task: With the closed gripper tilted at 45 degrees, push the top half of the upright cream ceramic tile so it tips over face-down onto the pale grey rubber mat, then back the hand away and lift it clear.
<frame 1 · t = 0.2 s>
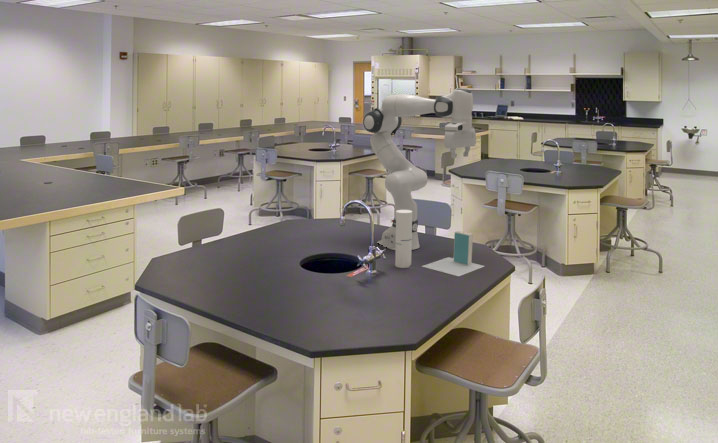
hand: (459, 157, 253), 48 cm above the counter, tool pointing down, fingers open, 8 cm apart
cylindrical container: (403, 266, 254), on the counter
tile: (462, 262, 255), point 1 cm above the counter, touching mat
mat: (453, 267, 250), on the counter
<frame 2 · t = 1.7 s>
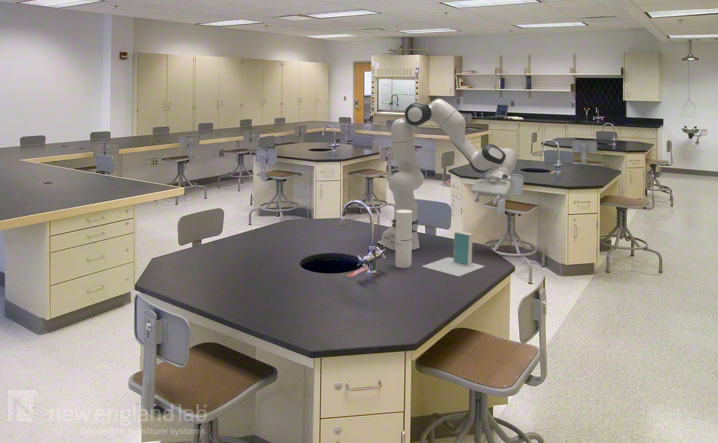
hand: (484, 202, 260), 26 cm above the counter, tool tilted 45°, fingers open, 8 cm apart
nothing on the counter moved.
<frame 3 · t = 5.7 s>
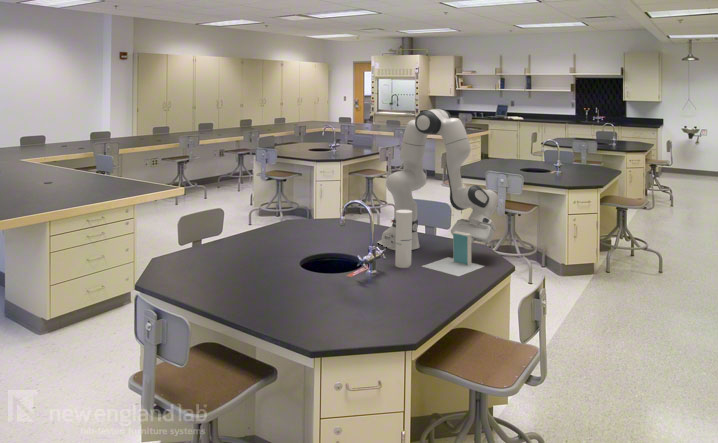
hand: (464, 246, 254), 8 cm above the counter, tool tilted 45°, fingers closed
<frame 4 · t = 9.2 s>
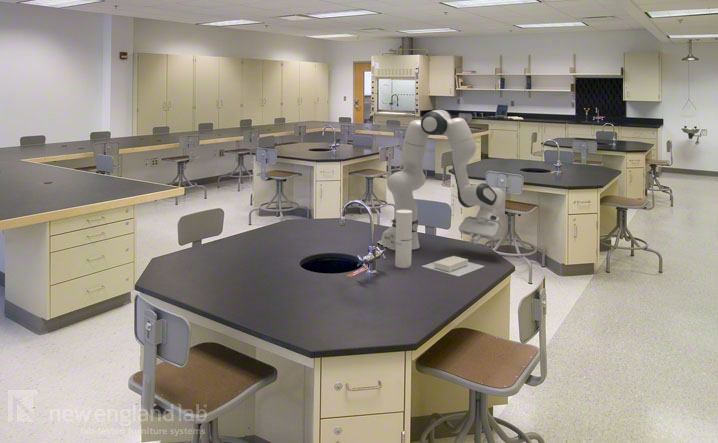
hand: (472, 243, 258), 9 cm above the counter, tool tilted 45°, fingers closed
tile: (460, 260, 253), point 2 cm above the counter, tilted 90°, touching mat
everything else where it was.
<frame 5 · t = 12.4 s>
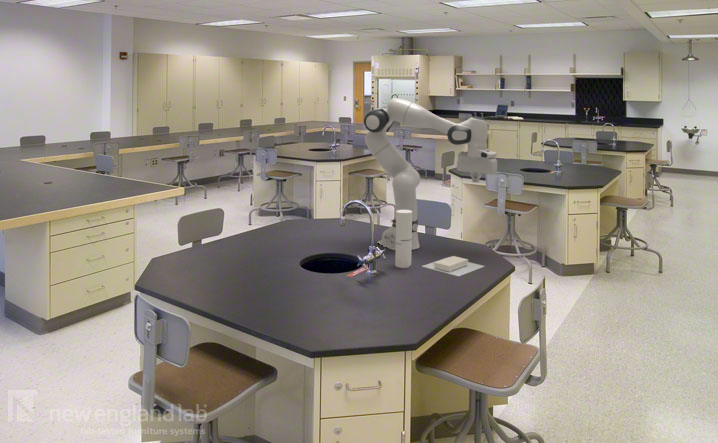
hand: (475, 182, 263), 35 cm above the counter, tool pointing down, fingers closed
nothing on the counter moved.
at the end: tile tilted 90°; tile inside the target area on the mat (5.5 cm from its centre), point 2.3 cm above the mat's base; the gripper is holding nothing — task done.
